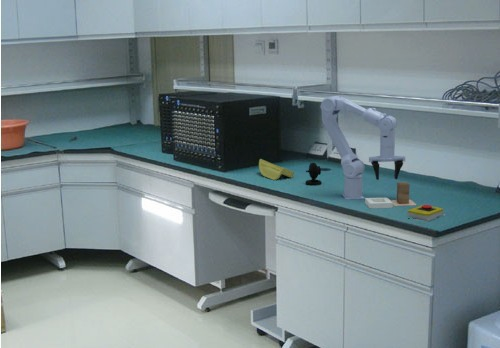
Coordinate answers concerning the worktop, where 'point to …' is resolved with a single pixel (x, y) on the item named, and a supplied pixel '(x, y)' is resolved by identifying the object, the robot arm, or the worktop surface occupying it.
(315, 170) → the webcam
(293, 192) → the worktop surface
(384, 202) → the pocket block
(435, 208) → the emergency button
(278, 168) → the plastic component
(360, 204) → the worktop surface
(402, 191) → the peg
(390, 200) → the pad
